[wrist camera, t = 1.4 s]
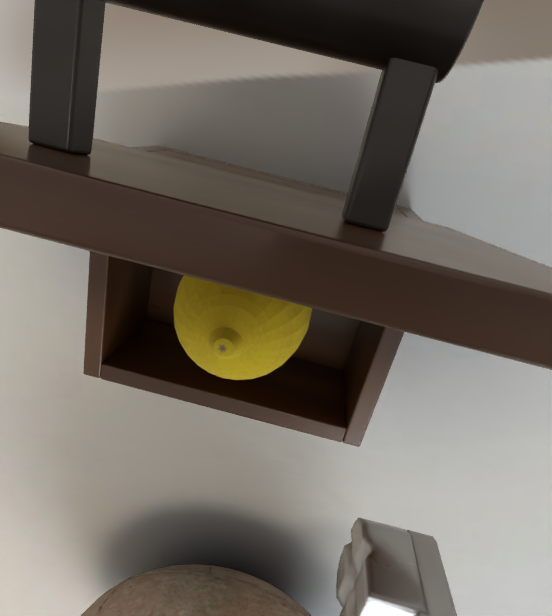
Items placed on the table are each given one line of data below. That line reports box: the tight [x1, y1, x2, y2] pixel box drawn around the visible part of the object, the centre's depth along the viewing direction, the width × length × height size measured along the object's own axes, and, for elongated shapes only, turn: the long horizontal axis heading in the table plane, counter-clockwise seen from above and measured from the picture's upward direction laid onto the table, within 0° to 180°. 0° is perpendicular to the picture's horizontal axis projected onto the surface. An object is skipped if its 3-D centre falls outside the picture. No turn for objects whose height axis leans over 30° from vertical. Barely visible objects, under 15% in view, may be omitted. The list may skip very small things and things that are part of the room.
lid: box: [0, 0, 552, 370], centre depth 9 cm, size 10×13×5 cm
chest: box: [84, 146, 423, 446], centre depth 19 cm, size 10×13×6 cm
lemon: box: [174, 275, 312, 380], centre depth 18 cm, size 6×6×8 cm
